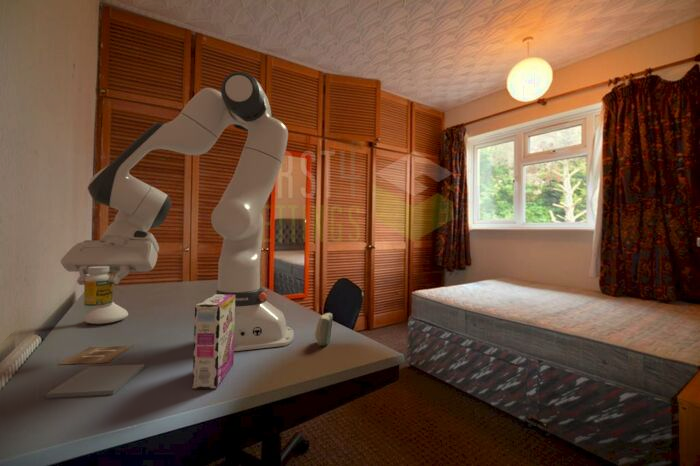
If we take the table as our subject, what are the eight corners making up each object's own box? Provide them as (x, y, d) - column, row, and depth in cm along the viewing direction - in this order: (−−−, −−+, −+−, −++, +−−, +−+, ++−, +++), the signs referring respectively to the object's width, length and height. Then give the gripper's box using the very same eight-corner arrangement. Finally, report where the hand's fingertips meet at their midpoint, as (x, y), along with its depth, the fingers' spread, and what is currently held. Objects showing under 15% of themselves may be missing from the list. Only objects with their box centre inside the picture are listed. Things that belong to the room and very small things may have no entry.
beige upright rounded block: (337, 346, 82) (337, 316, 82) (318, 349, 80) (319, 318, 80) (330, 339, 87) (330, 311, 87) (312, 341, 85) (313, 313, 85)
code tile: (132, 346, 79) (132, 345, 79) (107, 362, 69) (107, 362, 69) (89, 347, 78) (89, 347, 78) (58, 364, 68) (58, 364, 68)
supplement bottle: (101, 302, 77) (102, 264, 77) (118, 304, 76) (118, 266, 76) (78, 308, 72) (78, 267, 72) (95, 309, 70) (95, 268, 70)
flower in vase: (74, 324, 96) (75, 245, 96) (112, 315, 107) (113, 244, 107) (104, 329, 92) (105, 246, 92) (140, 319, 103) (141, 245, 103)
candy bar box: (218, 389, 59) (219, 305, 59) (191, 390, 58) (192, 305, 58) (235, 364, 70) (236, 293, 70) (212, 364, 70) (213, 293, 70)
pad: (144, 367, 67) (144, 364, 67) (113, 394, 56) (113, 390, 56) (89, 370, 66) (89, 366, 66) (46, 398, 55) (46, 393, 55)
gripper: (73, 232, 79) (40, 275, 69) (158, 233, 82) (137, 275, 72) (85, 248, 83) (55, 291, 74) (165, 249, 86) (147, 290, 77)
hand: (97, 283), depth 73 cm, fingers closed on supplement bottle, 5 cm apart
